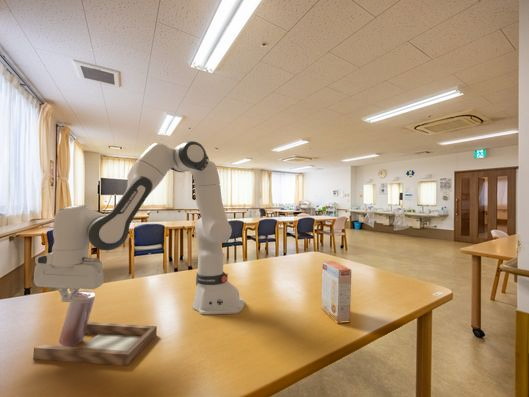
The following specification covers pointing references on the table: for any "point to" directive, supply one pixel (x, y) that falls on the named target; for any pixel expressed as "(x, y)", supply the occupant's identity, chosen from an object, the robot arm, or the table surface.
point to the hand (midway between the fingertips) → (68, 301)
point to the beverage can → (77, 318)
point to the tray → (103, 345)
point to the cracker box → (336, 290)
